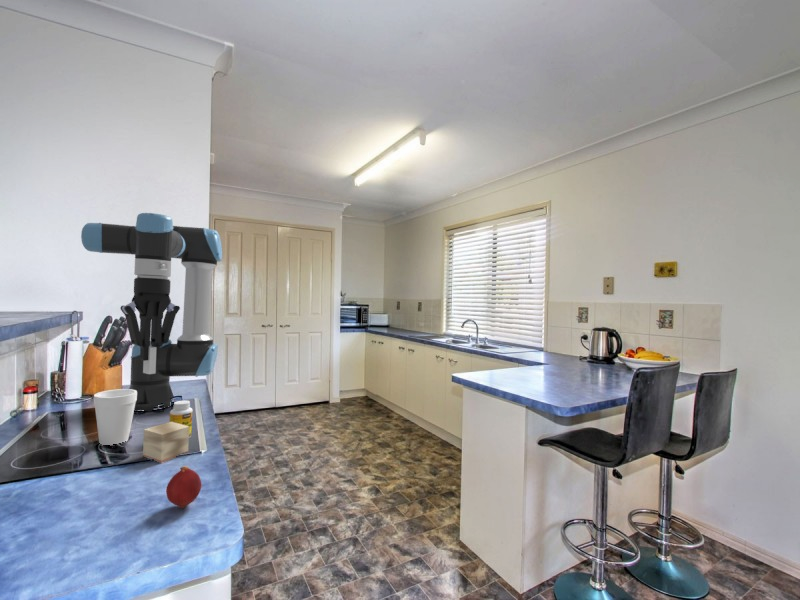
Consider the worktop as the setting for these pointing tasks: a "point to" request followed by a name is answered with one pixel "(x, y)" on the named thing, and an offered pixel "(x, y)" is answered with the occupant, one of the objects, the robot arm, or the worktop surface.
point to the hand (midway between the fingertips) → (149, 372)
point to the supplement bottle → (182, 414)
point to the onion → (183, 487)
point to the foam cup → (114, 414)
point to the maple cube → (165, 441)
